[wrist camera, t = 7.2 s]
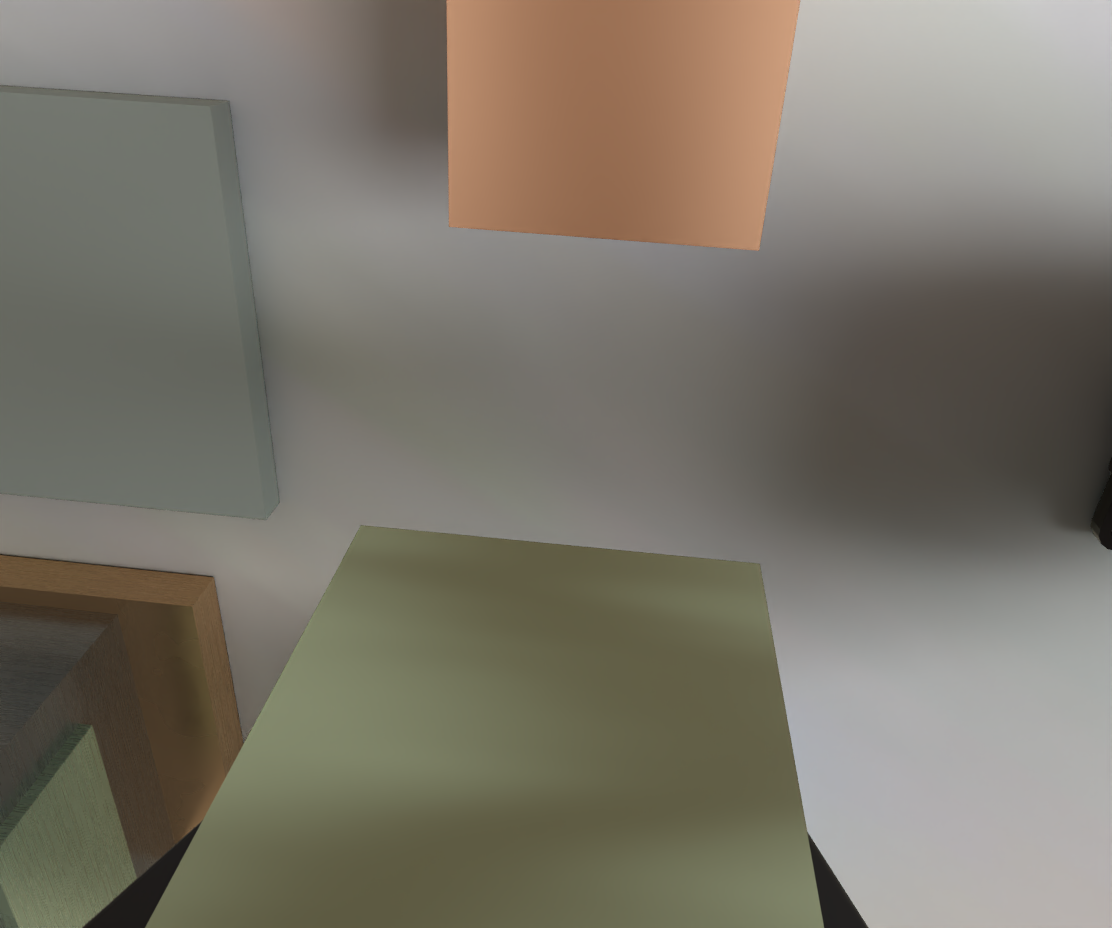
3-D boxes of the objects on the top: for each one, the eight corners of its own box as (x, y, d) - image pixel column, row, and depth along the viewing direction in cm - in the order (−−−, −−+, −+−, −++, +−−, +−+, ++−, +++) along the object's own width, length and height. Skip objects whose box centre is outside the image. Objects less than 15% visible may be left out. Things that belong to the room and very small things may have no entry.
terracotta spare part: (763, -91, 14) (820, -129, 9) (727, 162, 16) (758, 250, 11) (521, -103, 15) (445, -146, 9) (514, 147, 17) (449, 226, 11)
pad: (228, 100, 17) (210, 106, 16) (279, 502, 21) (266, 520, 20) (-214, 71, 17) (-251, 74, 17) (-75, 467, 22) (-99, 483, 21)
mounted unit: (213, 577, 22) (6, 857, 15) (259, 835, 27) (118, 1138, 20) (-46, 550, 23) (-363, 809, 16) (45, 809, 28) (-166, 1095, 21)
